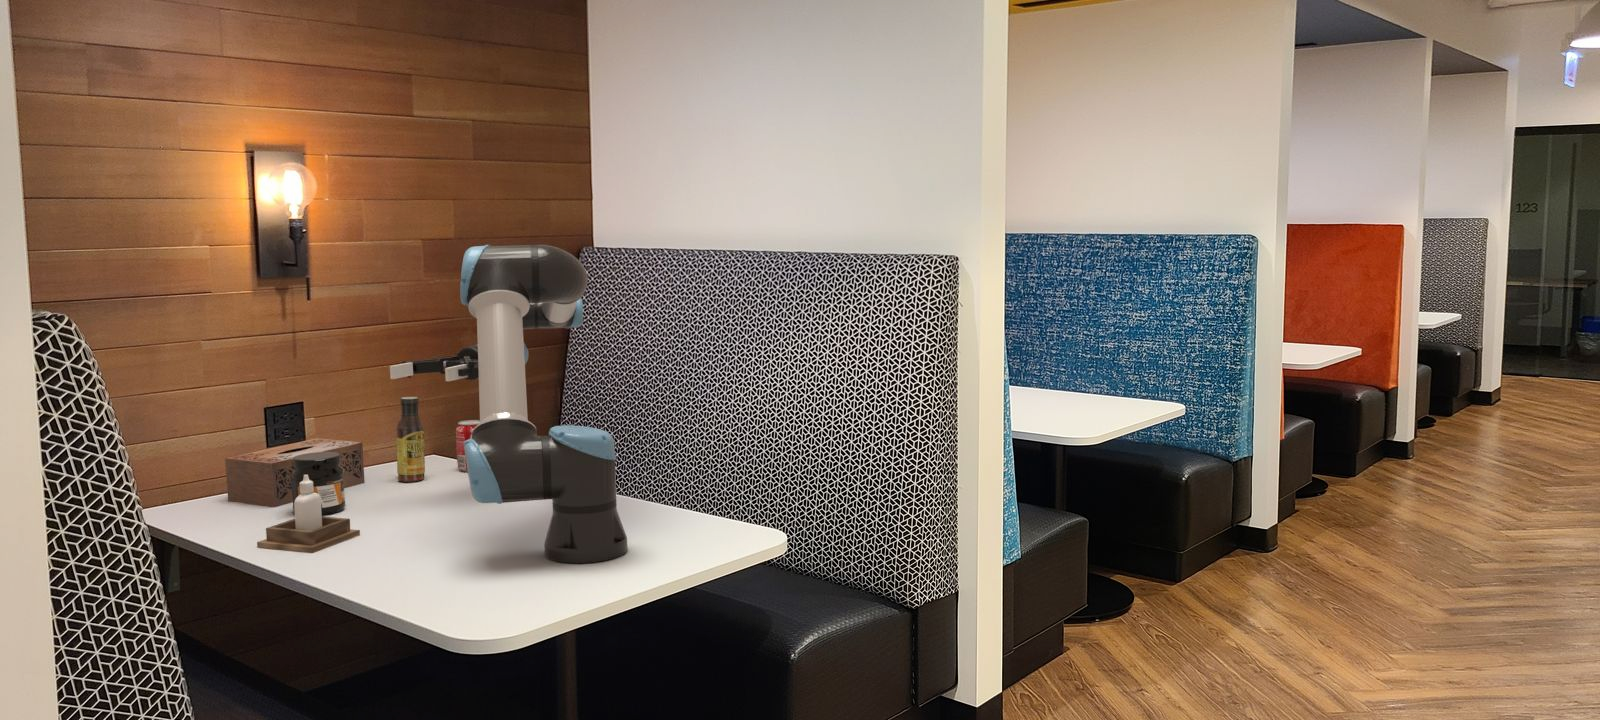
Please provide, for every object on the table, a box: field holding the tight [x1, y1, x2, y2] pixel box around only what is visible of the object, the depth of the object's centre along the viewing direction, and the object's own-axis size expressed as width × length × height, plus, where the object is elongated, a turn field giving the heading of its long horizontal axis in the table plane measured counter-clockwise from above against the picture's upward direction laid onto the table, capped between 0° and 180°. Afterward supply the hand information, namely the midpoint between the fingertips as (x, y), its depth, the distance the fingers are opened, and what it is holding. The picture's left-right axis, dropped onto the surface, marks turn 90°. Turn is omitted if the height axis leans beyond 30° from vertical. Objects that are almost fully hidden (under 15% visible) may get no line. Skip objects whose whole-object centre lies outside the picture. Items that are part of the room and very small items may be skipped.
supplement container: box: [290, 452, 346, 516], centre depth 251 cm, size 10×10×12 cm
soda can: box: [455, 419, 480, 473], centre depth 291 cm, size 7×7×12 cm
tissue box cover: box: [224, 437, 366, 508], centre depth 269 cm, size 26×14×10 cm, turn 155°
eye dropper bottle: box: [294, 475, 323, 531], centre depth 227 cm, size 4×6×12 cm
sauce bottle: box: [396, 396, 426, 483], centre depth 279 cm, size 7×6×20 cm
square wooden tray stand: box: [256, 515, 361, 554], centre depth 227 cm, size 13×13×4 cm
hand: (418, 373), depth 243 cm, fingers open, 13 cm apart
